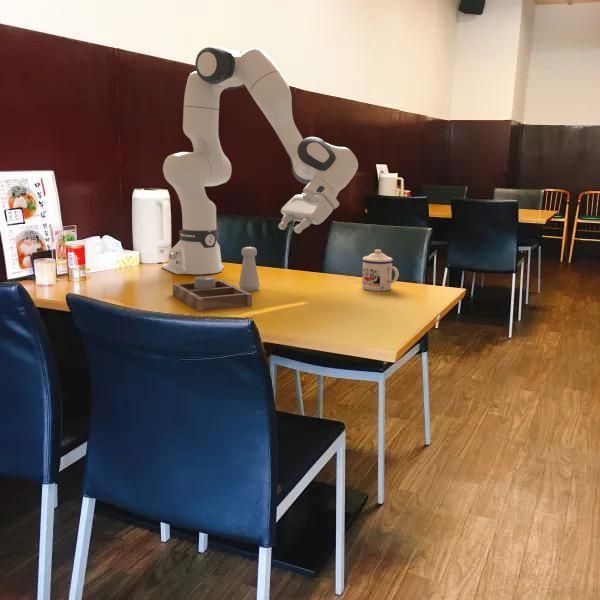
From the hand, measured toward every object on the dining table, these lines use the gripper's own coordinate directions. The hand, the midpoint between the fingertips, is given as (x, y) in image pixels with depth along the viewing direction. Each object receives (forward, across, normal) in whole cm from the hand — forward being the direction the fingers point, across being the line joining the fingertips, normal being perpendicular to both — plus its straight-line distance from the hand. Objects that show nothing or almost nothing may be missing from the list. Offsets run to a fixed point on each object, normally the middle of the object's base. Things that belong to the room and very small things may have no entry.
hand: (288, 229), depth 179 cm
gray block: (+31, +4, -8) cm, 32 cm away
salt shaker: (+21, 0, +4) cm, 21 cm away
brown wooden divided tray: (+31, +9, -7) cm, 33 cm away
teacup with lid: (-5, +12, +30) cm, 33 cm away
